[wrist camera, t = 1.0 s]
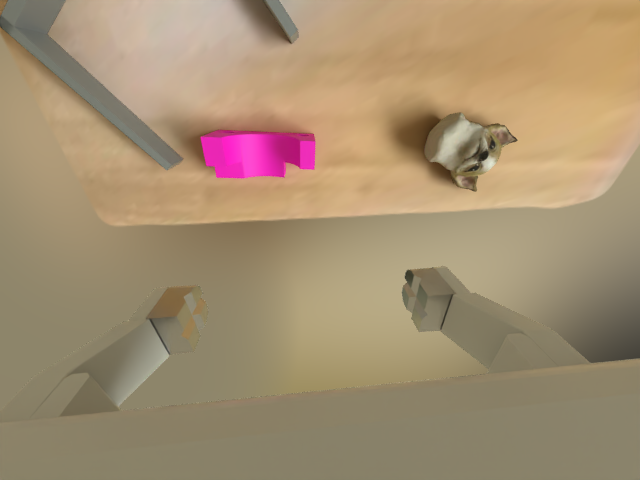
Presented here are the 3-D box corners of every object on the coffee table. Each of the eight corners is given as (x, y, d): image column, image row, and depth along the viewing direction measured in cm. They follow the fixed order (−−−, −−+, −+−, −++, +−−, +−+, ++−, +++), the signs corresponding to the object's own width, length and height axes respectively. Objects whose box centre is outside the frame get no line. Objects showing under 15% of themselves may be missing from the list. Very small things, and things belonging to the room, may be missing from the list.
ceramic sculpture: (478, 92, 28) (553, 143, 33) (440, 90, 36) (506, 133, 40) (424, 173, 33) (496, 208, 38) (400, 157, 41) (463, 188, 45)
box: (150, -194, 22) (122, -246, 19) (298, 36, 32) (297, 29, 28) (32, 32, 30) (-4, 23, 27) (179, 163, 39) (166, 170, 36)
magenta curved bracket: (225, 169, 40) (209, 183, 34) (218, 129, 37) (200, 136, 31) (312, 172, 41) (313, 186, 35) (313, 133, 38) (315, 141, 32)
